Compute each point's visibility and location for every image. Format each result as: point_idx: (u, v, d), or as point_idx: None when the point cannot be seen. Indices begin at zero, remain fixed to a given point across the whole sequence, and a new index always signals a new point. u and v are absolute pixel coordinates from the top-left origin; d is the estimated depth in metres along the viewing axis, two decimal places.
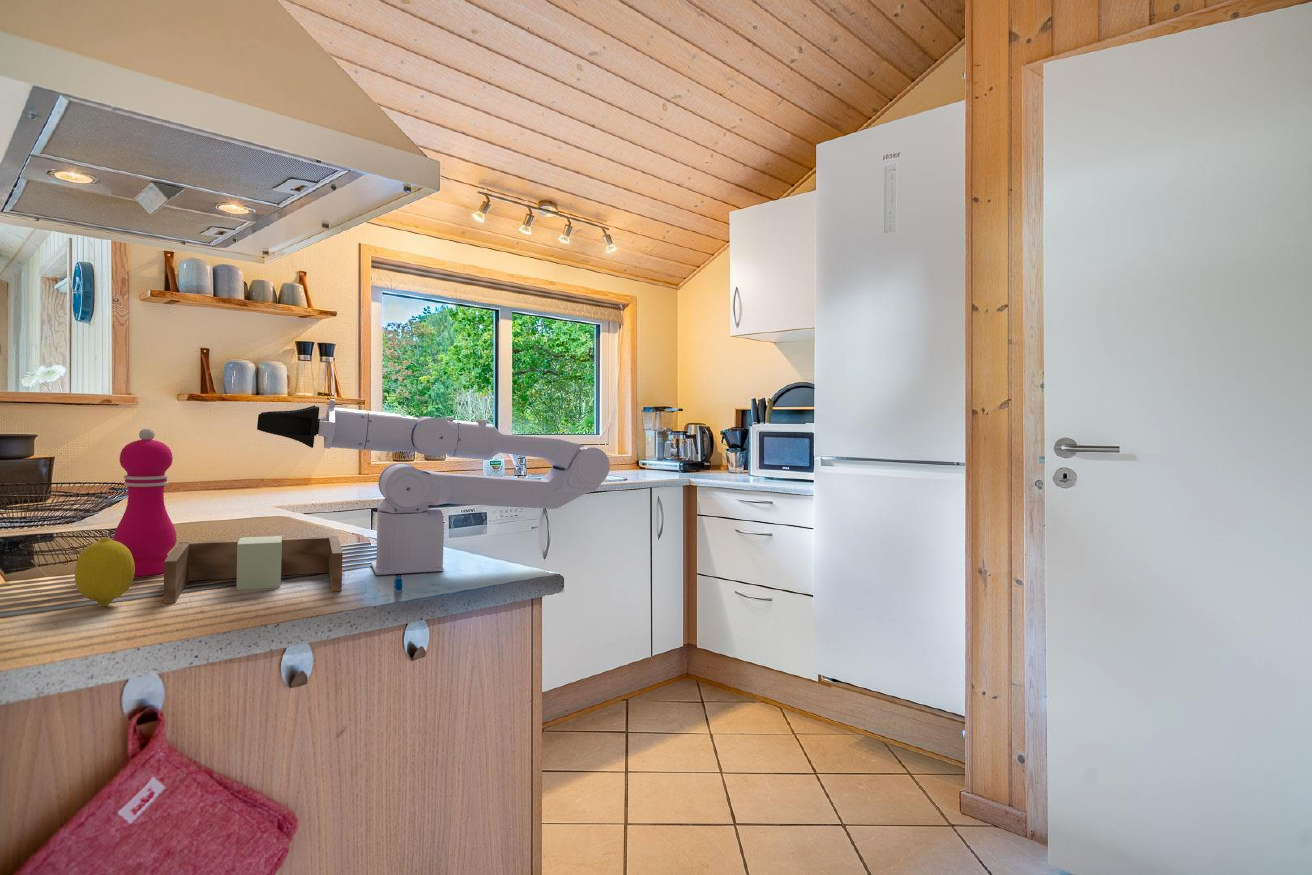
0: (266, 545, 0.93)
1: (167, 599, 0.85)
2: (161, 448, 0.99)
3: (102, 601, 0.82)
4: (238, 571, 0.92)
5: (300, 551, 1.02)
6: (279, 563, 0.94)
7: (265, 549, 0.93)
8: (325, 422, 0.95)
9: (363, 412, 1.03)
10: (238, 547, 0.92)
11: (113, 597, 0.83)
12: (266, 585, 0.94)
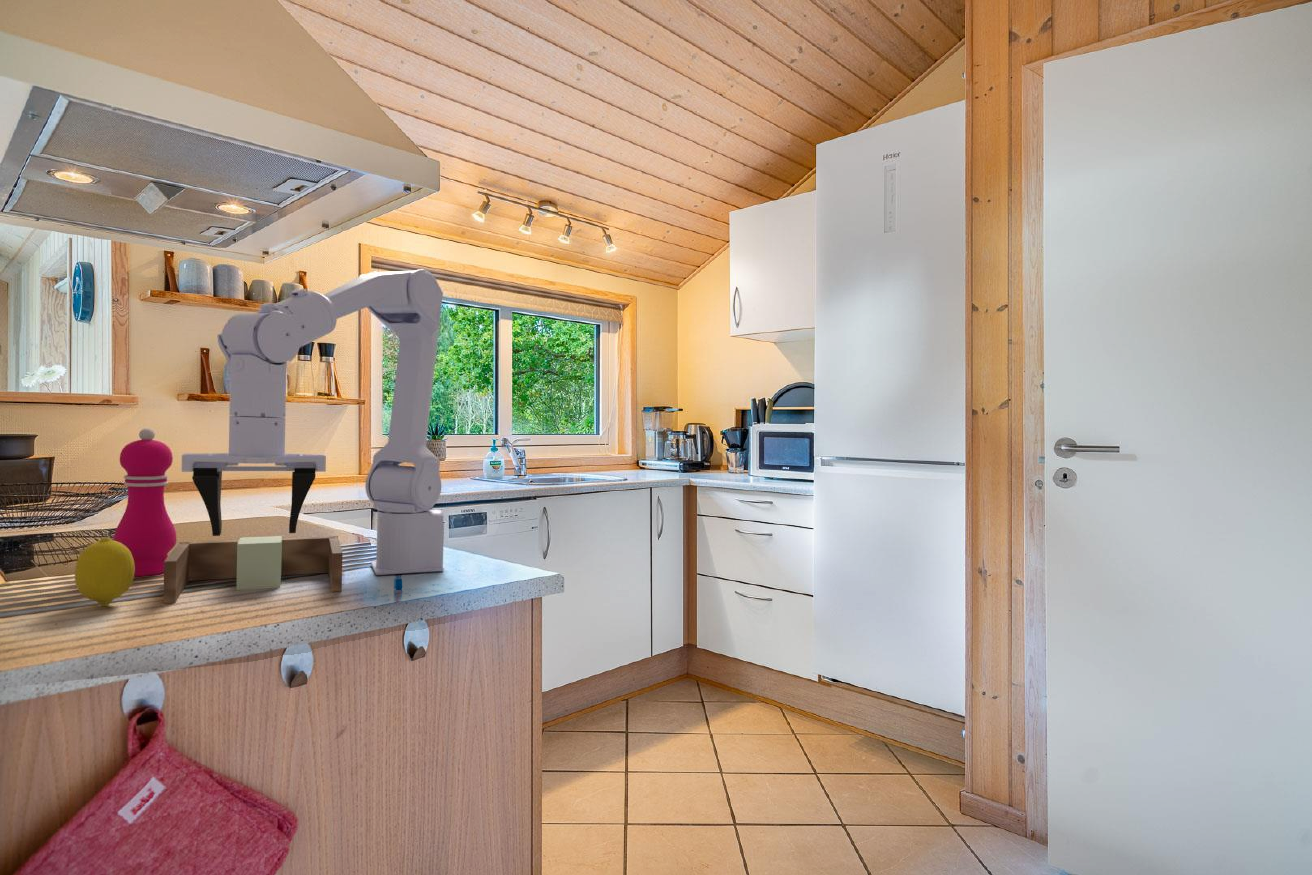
0: (266, 545, 0.93)
1: (167, 599, 0.85)
2: (161, 448, 0.99)
3: (102, 601, 0.82)
4: (238, 571, 0.92)
5: (300, 551, 1.02)
6: (279, 563, 0.94)
7: (265, 549, 0.93)
8: (325, 465, 0.86)
9: (268, 422, 0.81)
10: (238, 547, 0.92)
11: (113, 597, 0.83)
12: (266, 585, 0.94)
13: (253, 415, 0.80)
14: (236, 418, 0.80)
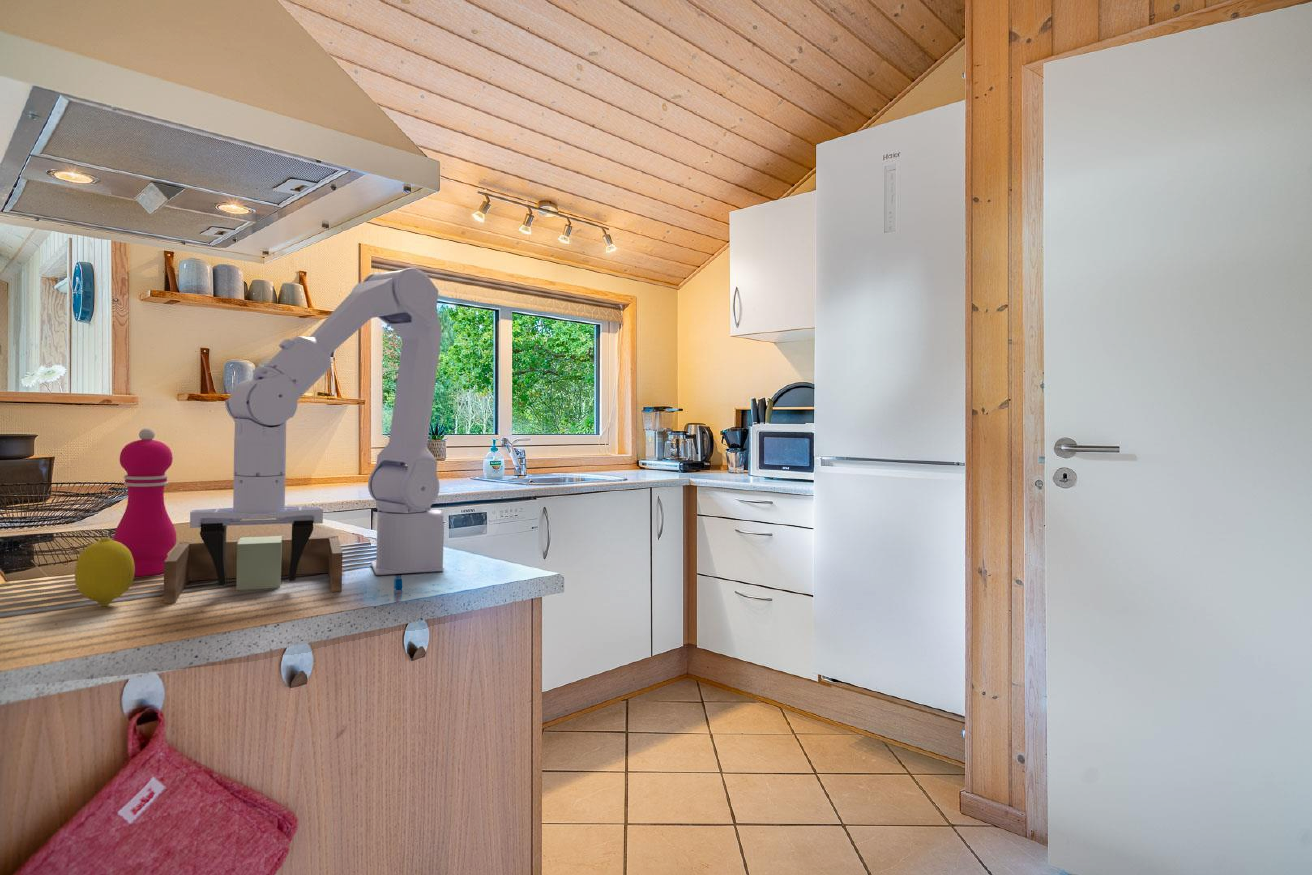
0: (265, 545, 0.93)
1: (167, 599, 0.85)
2: (161, 448, 0.99)
3: (102, 601, 0.82)
4: (238, 571, 0.92)
5: None
6: (279, 563, 0.94)
7: (265, 549, 0.93)
8: (322, 518, 0.93)
9: (269, 481, 0.88)
10: (238, 547, 0.92)
11: (113, 597, 0.83)
12: (266, 585, 0.94)
13: (249, 474, 0.87)
14: (240, 477, 0.87)
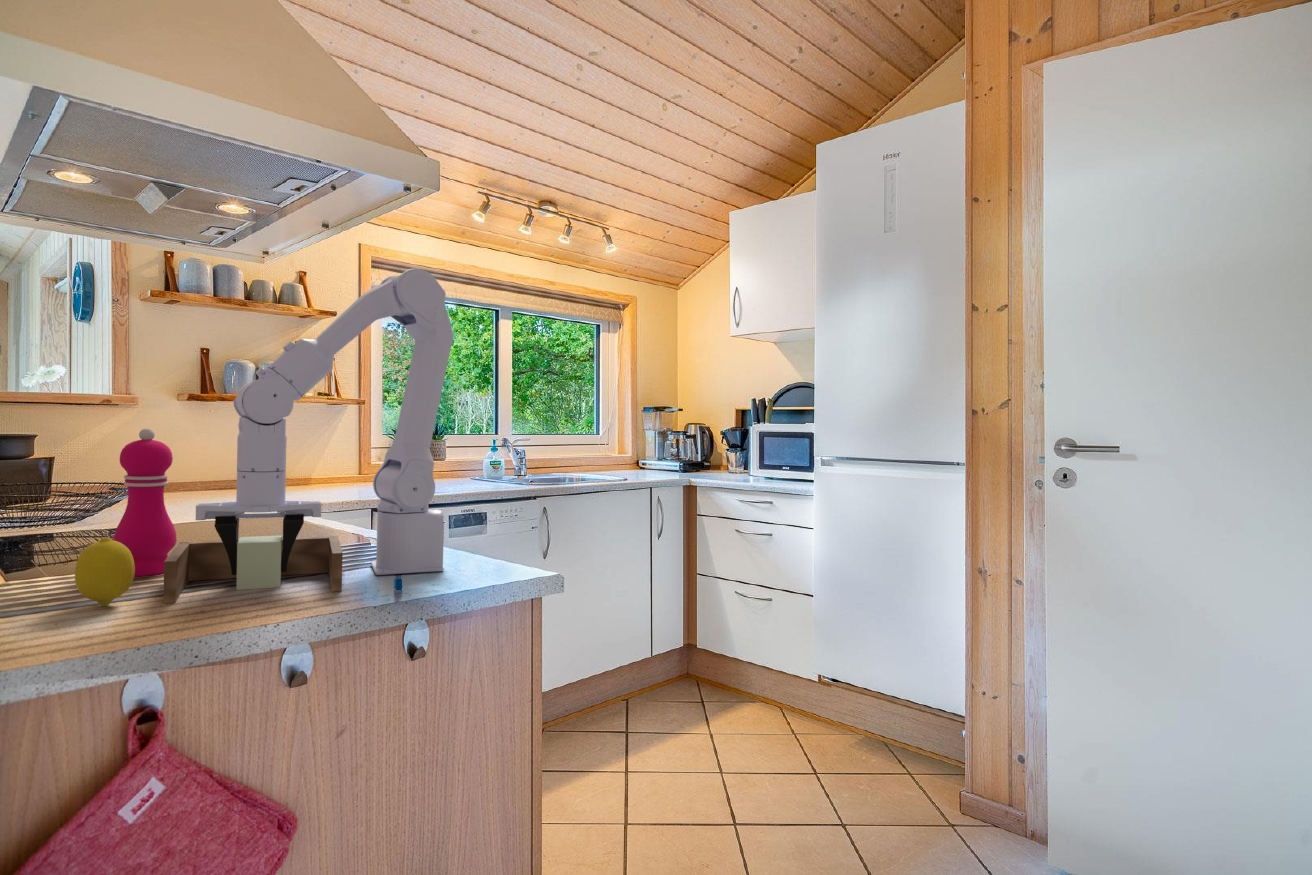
0: (266, 544, 0.93)
1: (167, 599, 0.85)
2: (161, 448, 0.99)
3: (102, 601, 0.82)
4: (238, 571, 0.92)
5: (300, 551, 1.02)
6: (279, 563, 0.94)
7: (265, 549, 0.93)
8: None
9: (271, 476, 0.93)
10: (238, 547, 0.92)
11: (113, 597, 0.83)
12: (266, 585, 0.94)
13: (245, 470, 0.92)
14: (243, 473, 0.92)
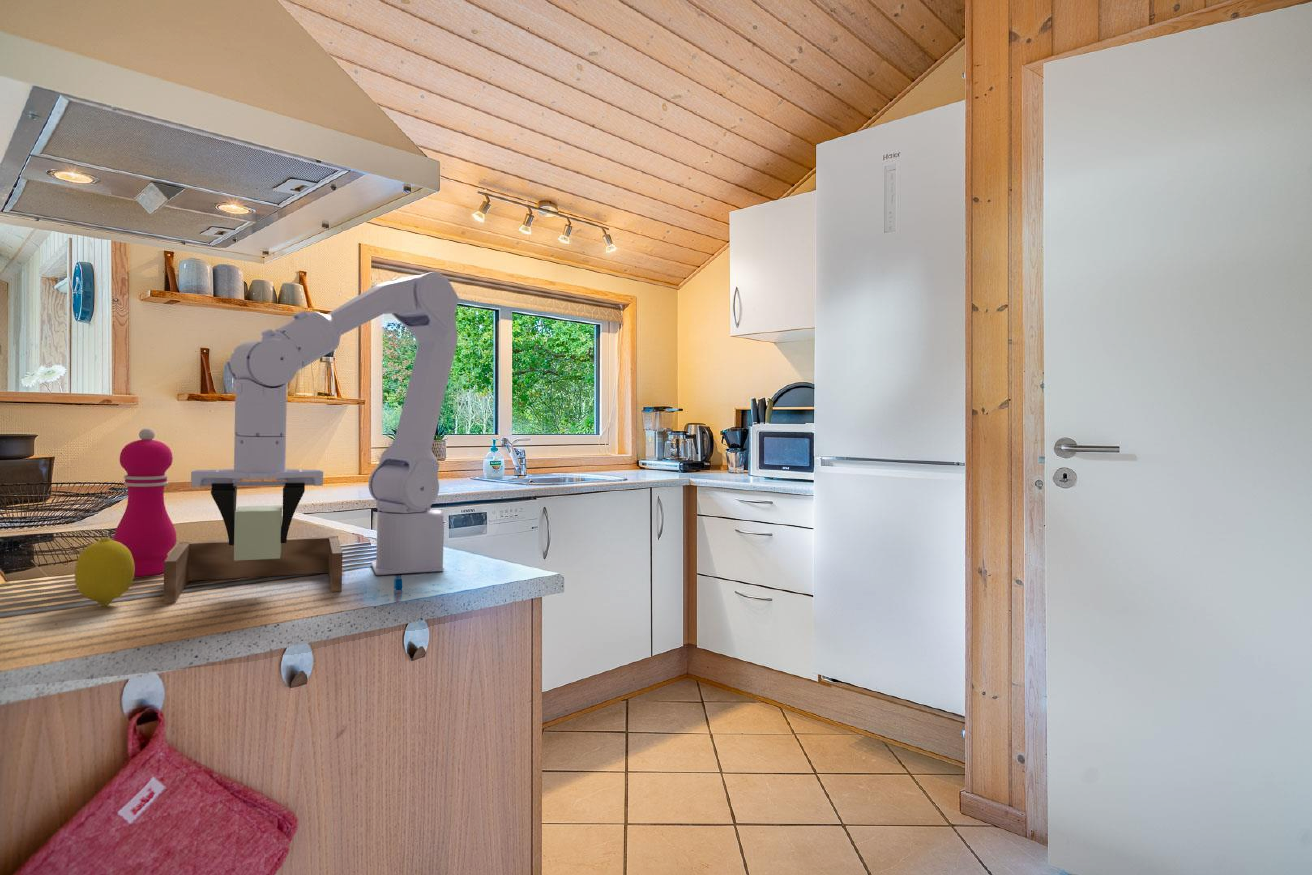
0: (265, 513, 0.89)
1: (167, 599, 0.85)
2: (161, 448, 0.99)
3: (102, 601, 0.82)
4: (236, 540, 0.88)
5: (300, 551, 1.02)
6: (279, 533, 0.90)
7: (264, 518, 0.89)
8: (322, 480, 0.93)
9: (270, 441, 0.89)
10: (236, 515, 0.87)
11: (113, 597, 0.83)
12: (265, 555, 0.89)
13: (249, 435, 0.88)
14: (241, 438, 0.88)
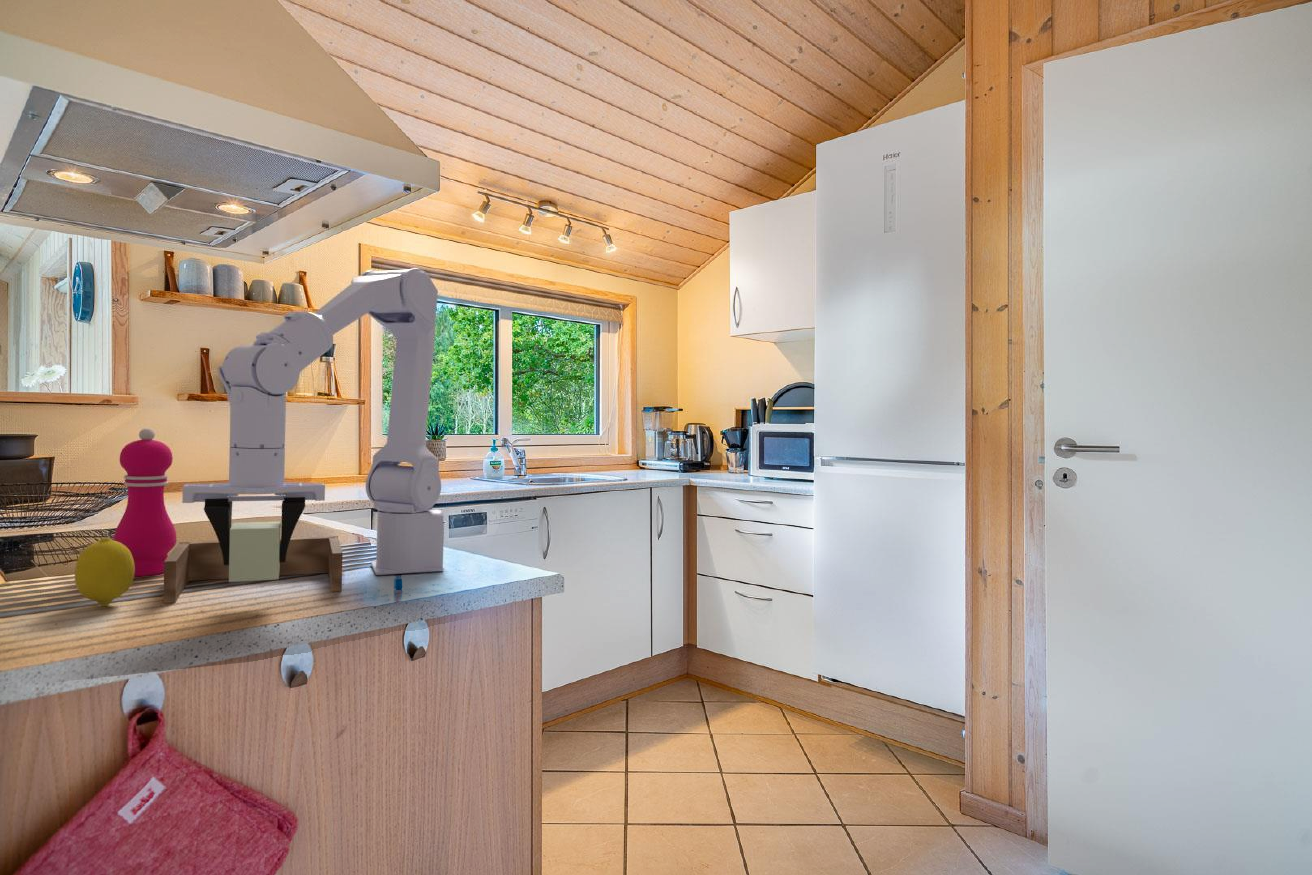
0: (262, 530, 0.83)
1: (167, 599, 0.85)
2: (161, 448, 0.99)
3: (102, 601, 0.82)
4: (231, 560, 0.81)
5: (300, 551, 1.02)
6: (277, 551, 0.83)
7: (262, 535, 0.83)
8: (324, 494, 0.87)
9: (268, 453, 0.82)
10: (231, 533, 0.81)
11: (113, 597, 0.83)
12: (262, 576, 0.83)
13: (252, 447, 0.81)
14: (236, 449, 0.81)
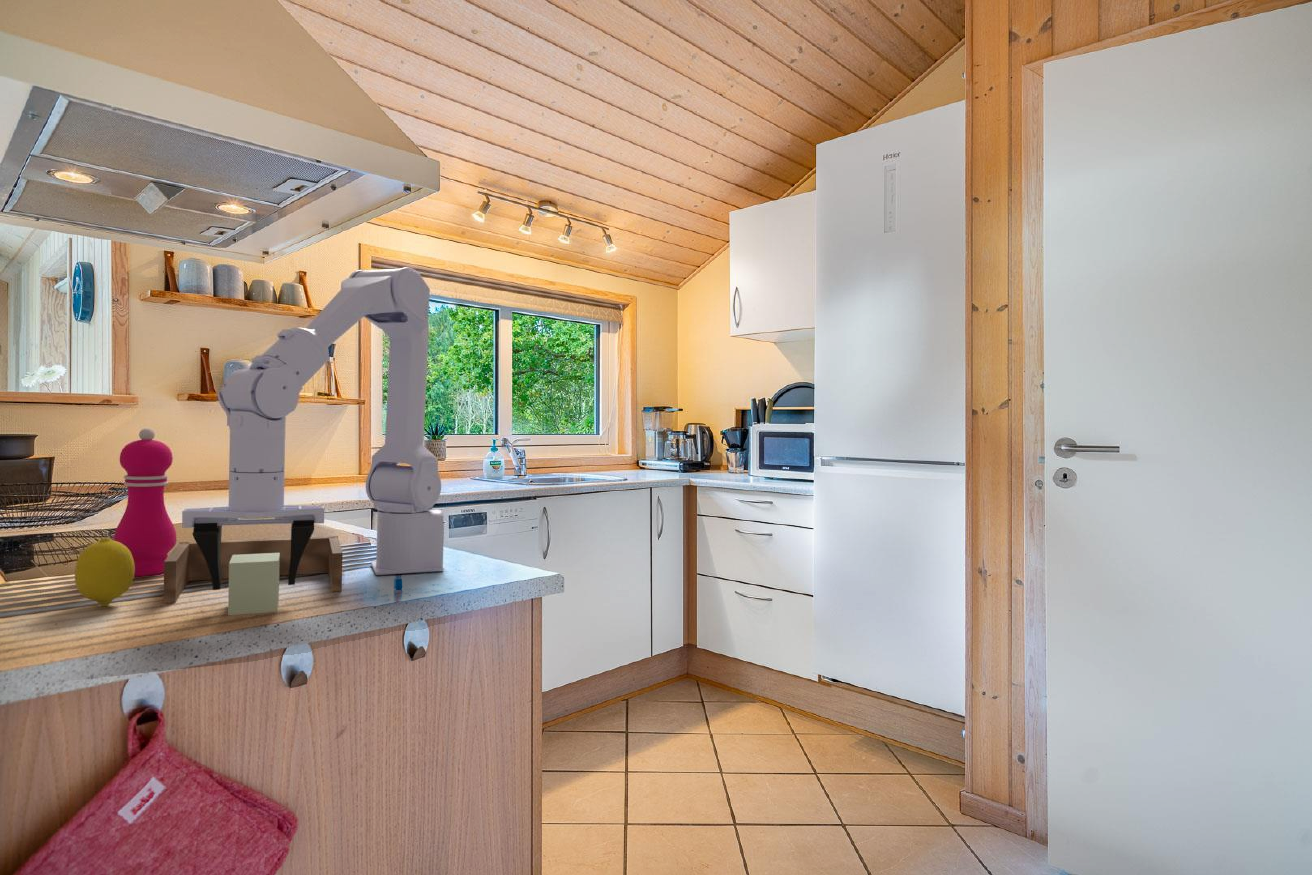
0: (261, 563, 0.83)
1: (167, 599, 0.85)
2: (161, 448, 0.99)
3: (102, 601, 0.82)
4: (230, 594, 0.81)
5: None
6: (276, 584, 0.84)
7: (261, 568, 0.83)
8: None
9: (267, 478, 0.82)
10: (230, 567, 0.81)
11: (113, 597, 0.83)
12: (262, 609, 0.83)
13: (252, 471, 0.82)
14: (236, 474, 0.82)
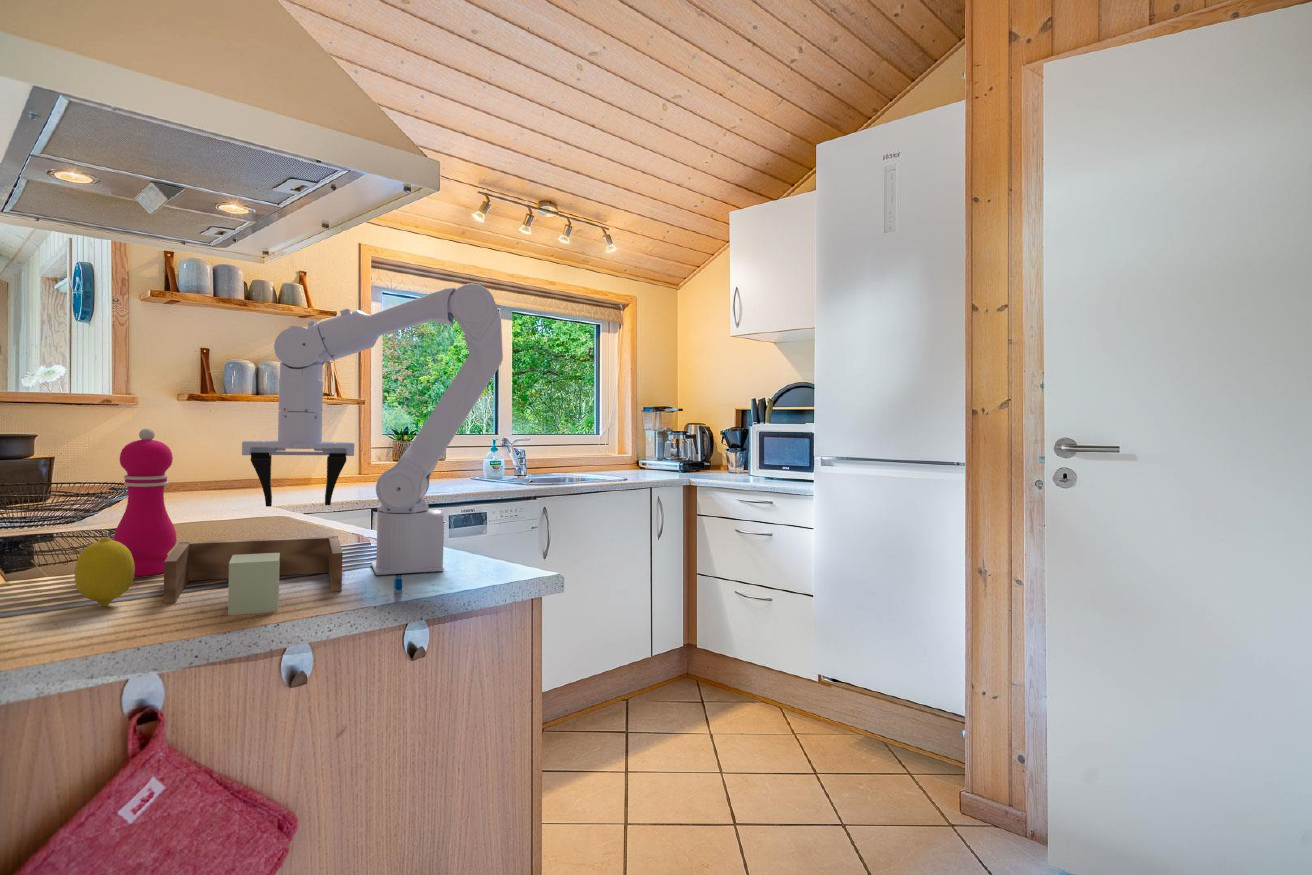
0: (261, 563, 0.83)
1: (167, 599, 0.85)
2: (161, 448, 0.99)
3: (102, 601, 0.82)
4: (230, 594, 0.81)
5: (300, 551, 1.02)
6: (276, 584, 0.84)
7: (261, 568, 0.83)
8: None
9: (309, 416, 1.02)
10: (230, 567, 0.81)
11: (113, 597, 0.83)
12: (262, 609, 0.83)
13: (280, 409, 1.02)
14: (284, 413, 1.01)
